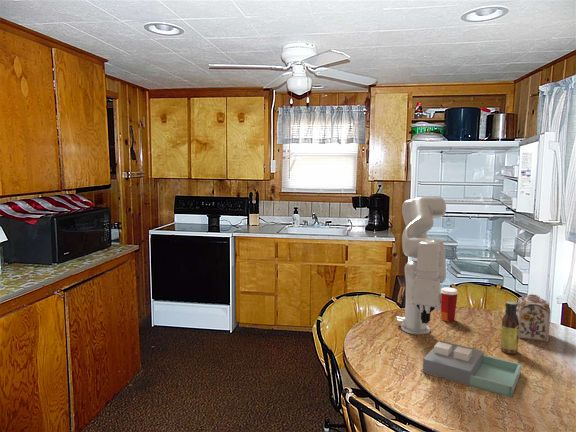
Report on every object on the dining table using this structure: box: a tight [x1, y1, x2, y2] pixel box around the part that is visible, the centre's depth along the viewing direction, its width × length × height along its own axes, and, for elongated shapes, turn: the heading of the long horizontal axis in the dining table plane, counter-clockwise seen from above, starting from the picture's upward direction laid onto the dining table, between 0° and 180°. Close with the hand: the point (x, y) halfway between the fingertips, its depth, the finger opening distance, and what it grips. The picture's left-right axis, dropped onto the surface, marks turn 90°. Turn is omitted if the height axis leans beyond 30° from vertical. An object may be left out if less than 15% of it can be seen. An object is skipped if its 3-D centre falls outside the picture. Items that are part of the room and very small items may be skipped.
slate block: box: [422, 340, 485, 387], centre depth 156 cm, size 16×20×5 cm
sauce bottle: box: [500, 301, 520, 355], centre depth 169 cm, size 7×6×20 cm
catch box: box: [469, 354, 522, 398], centre depth 147 cm, size 12×20×4 cm, turn 144°
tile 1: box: [433, 341, 452, 356], centre depth 157 cm, size 5×5×2 cm
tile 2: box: [454, 346, 472, 361], centre depth 153 cm, size 5×5×2 cm
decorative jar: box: [515, 293, 551, 343], centre depth 186 cm, size 12×12×18 cm
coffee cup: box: [440, 287, 459, 323], centre depth 205 cm, size 8×8×15 cm
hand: (425, 322), depth 160 cm, fingers closed
